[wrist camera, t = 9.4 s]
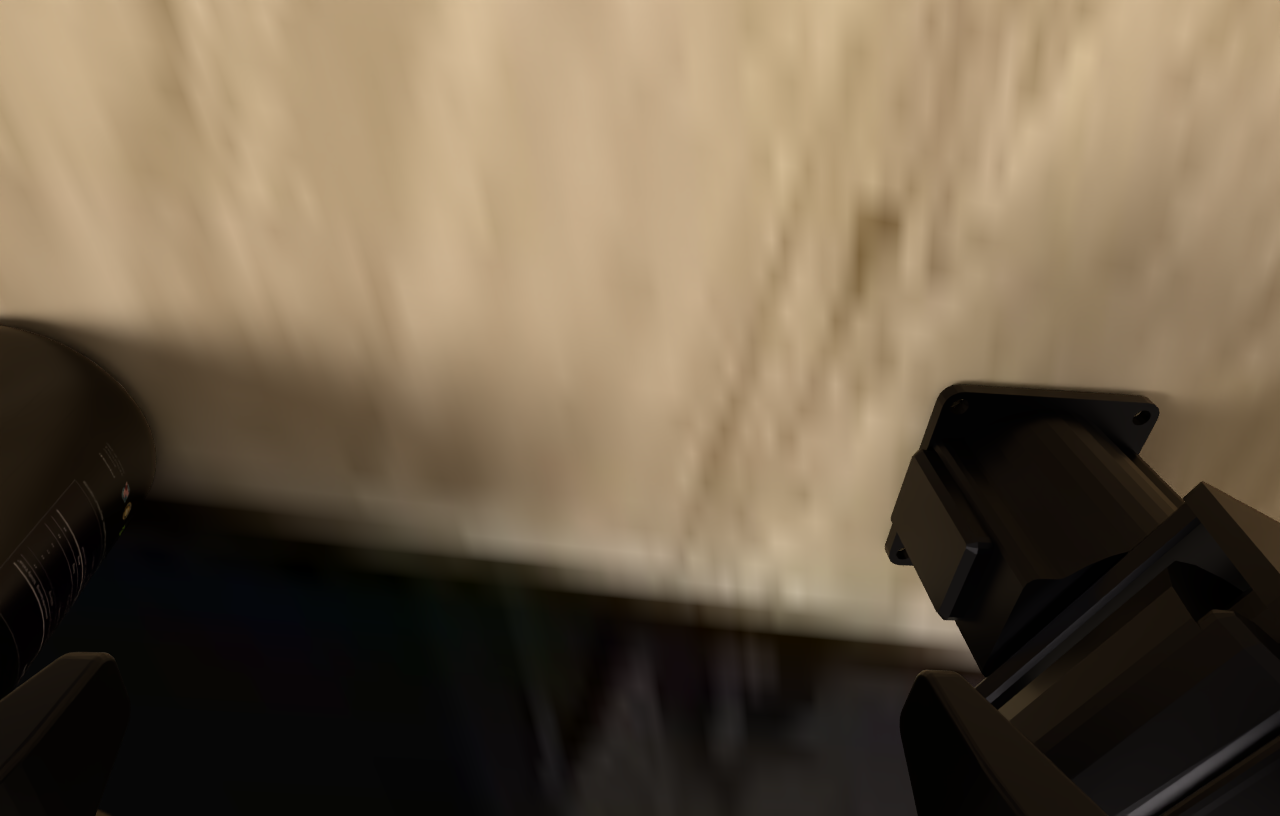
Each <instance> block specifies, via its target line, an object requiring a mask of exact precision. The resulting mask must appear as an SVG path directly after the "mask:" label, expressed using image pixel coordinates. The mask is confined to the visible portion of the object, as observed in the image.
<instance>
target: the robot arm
mask: <svg viewBox="0 0 1280 816" xmlns="http://www.w3.org/2000/svg"><path fill="white" fill-rule="evenodd" d="M961 399H963V400H962V402H961V403H960V404H959V405H957V406H956V407H951V406H952V404H953V403H954V402H955V401H957V400H961ZM1140 411H1141V412H1140ZM1138 412H1140V414H1139V415H1137V416H1135V415H1136V414H1137V413H1138ZM1134 416H1135V417H1134ZM1158 416H1159V408H1158V407H1157V406H1156V405H1155V404H1154V403H1153V402H1151V401H1150V400H1149V399H1148V398H1147V397H1144V396H1136V395H1120V394H1104V393H1088V392H1072V391H1056V390H1040V389H1024V388H1008V387H992V386H976V385H960V384H959V385H952V386H950V387H948V388H946V389H944V390H943V391H942V392H941V393H940V395H939V396H938V398H937V401H936V403H935V406H934V409H933V412H932V415H931V417H930V420H929V423H928V426H927V429H926V431H925V434H924V437H923V440H922V443H921V445H920V448H919V450H918V451H917V452H916V453H915V454H914V455H913V456H912V459H911V462H910V464H909V467H908V470H907V473H906V476H905V479H904V481H903V484H902V487H901V490H900V493H899V496H898V498H897V501H896V504H895V507H894V510H893V512H892V515H891V521H892V523H893V524H892V527H891V529H890V532H889V535H888V538H887V541H886V543H885V550H886V553H887V555H888V557H889V559H890V561H891V562H892V563H894V564H897V565H909V566H914V568H915V570H916V572H917V574H918V576H919V578H920V580H921V582H922V584H923V586H924V588H925V590H926V592H927V594H928V596H929V598H930V600H931V602H932V604H933V606H934V608H935V610H936V612H937V613H938V614H939V615H940V616H941V617H942V619H943V620H955V622H956V624H957V626H958V628H959V630H960V632H961V634H962V636H963V638H964V639H965V641H966V643H967V645H968V647H969V649H970V651H971V653H972V655H973V657H974V659H975V661H976V663H977V665H978V667H979V669H980V671H981V672H982V674H983V675H984V676H985V677H986V678H985V679H984V680H983V681H982V682H981V683H979V684H978V685H977V686H976V687H975V688H974V687H973V686H972V685H971V684H970V683H969V682H967V681H966V680H965V679H964V678H963V677H962V676H961V675H959V674H958V673H956V672H954V671H949V670H923V671H922V672H921V673H919V674H918V675H917V677H916V679H915V682H914V684H913V686H912V688H911V691H910V693H909V695H908V698H907V700H906V702H905V704H904V707H903V709H902V712H901V716H900V733H901V739H902V743H903V748H904V753H905V757H906V762H907V767H908V772H909V776H910V781H911V786H912V790H913V795H914V800H915V805H916V809H917V814H918V816H1280V523H1279V522H1277V521H1275V520H1274V519H1272V518H1270V517H1268V516H1266V515H1264V514H1263V513H1261V512H1259V511H1257V510H1255V509H1253V508H1252V507H1250V506H1248V505H1246V504H1244V503H1242V502H1241V501H1239V500H1237V499H1235V498H1233V497H1231V496H1230V495H1228V494H1226V493H1224V492H1222V491H1220V490H1218V489H1217V488H1215V487H1213V486H1211V485H1209V484H1207V483H1206V482H1203V481H1202V482H1200V483H1199V484H1198V485H1197V486H1196V487H1195V488H1194V489H1193V490H1191V491H1190V492H1189V493H1188V494H1187V495H1186V496H1185V497H1184V498H1183V499H1182V498H1181V497H1180V496H1179V495H1178V494H1177V493H1176V492H1175V491H1174V490H1173V489H1172V488H1171V487H1170V486H1169V485H1168V484H1167V483H1166V482H1165V481H1164V480H1163V479H1162V478H1161V477H1160V476H1159V475H1158V474H1157V473H1156V472H1155V471H1154V470H1153V469H1152V468H1151V467H1150V466H1149V465H1148V464H1147V463H1146V462H1145V461H1144V460H1143V459H1142V458H1141V457H1140V456H1139V453H1140V451H1141V449H1142V447H1143V445H1144V443H1145V442H1146V440H1147V438H1148V436H1149V434H1150V432H1151V430H1152V429H1153V427H1154V425H1155V423H1156V421H1157V419H1158ZM902 548H905V549H903V550H901V551H898V550H900V549H902ZM130 710H131V707H130V699H129V696H128V694H127V691H126V688H125V686H124V683H123V680H122V677H121V675H120V672H119V669H118V666H117V664H116V661H115V659H114V658H113V657H112V656H111V655H109V654H108V653H102V652H72V653H68V654H65V655H63V656H61V657H59V658H58V659H56V660H55V661H53V662H52V663H51V664H49V665H48V666H47V667H45V668H44V669H42V670H41V671H40V672H38V673H37V674H36V675H34V676H33V677H31V678H30V679H29V680H27V681H26V682H25V683H23V684H22V685H20V686H19V687H18V688H16V689H15V690H13V691H12V692H11V693H9V694H8V695H7V696H5V697H4V698H2V699H1V700H0V816H95V815H96V812H97V809H98V807H99V804H100V801H101V798H102V795H103V793H104V790H105V787H106V784H107V781H108V779H109V776H110V773H111V770H112V768H113V765H114V762H115V759H116V756H117V754H118V751H119V748H120V745H121V742H122V740H123V737H124V734H125V731H126V729H127V726H128V722H129V718H130Z"/></svg>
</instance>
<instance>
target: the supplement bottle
mask: <svg viewBox="0 0 1280 816" xmlns="http://www.w3.org/2000/svg"><path fill="white" fill-rule="evenodd" d="M155 470H156V450H155V445H154V440H153V436H152V433H151V430H150V427H149V425H148V423H147V421H146V419H145V417H144V415H143V413H142V412H141V410H140V408H139V407H138V405H137V404H136V402H135V401H134V400H133V398H132V397H131V396H130V395H129V393H128V392H127V391H126V390H125V389H124V388H123V387H122V386H121V385H120V384H119V383H118V382H117V380H115V379H114V378H113V377H112V376H111V375H110V374H109V373H107V372H106V371H105V370H104V369H102V368H101V367H100V366H98V365H97V364H96V363H94V362H93V361H91V360H90V359H88V358H87V357H85V356H84V355H82V354H80V353H79V352H77V351H75V350H73V349H71V348H69V347H67V346H65V345H63V344H61V343H59V342H57V341H54V340H52V339H49V338H47V337H44V336H42V335H38V334H35V333H32V332H29V331H25V330H21V329H17V328H13V327H8V326H2V325H0V700H1V699H2V698H4V697H5V696H7V695H8V694H9V693H11V692H12V691H13V690H14V688H15V687H16V685H17V684H18V682H19V681H20V680H21V678H22V677H23V675H24V674H25V672H26V671H27V669H28V668H29V667H30V665H31V664H32V662H33V661H34V659H35V658H36V656H37V655H38V654H39V652H40V651H41V649H42V648H43V646H44V645H45V644H46V642H47V641H48V639H49V638H50V636H51V635H52V633H53V632H54V631H55V629H56V628H57V626H58V625H59V623H60V622H61V621H62V619H63V618H64V616H65V615H66V613H67V612H68V610H69V609H70V608H71V606H72V605H73V603H74V602H75V600H76V599H77V597H78V596H79V595H80V593H81V592H82V590H83V589H84V587H85V586H86V585H87V583H88V582H89V580H90V579H91V577H92V576H93V574H94V573H95V572H96V570H97V569H98V567H99V566H100V564H101V563H102V561H103V560H104V559H105V557H106V556H107V554H108V553H109V551H110V550H111V549H112V547H113V546H114V544H115V543H116V541H117V540H118V538H119V537H120V536H121V534H122V533H123V531H124V530H125V528H126V527H127V525H128V524H129V523H130V521H131V519H132V518H133V516H134V515H135V513H136V512H137V510H138V509H139V507H140V506H141V504H142V503H143V501H144V499H145V497H146V496H147V494H148V492H149V490H150V488H151V485H152V483H153V479H154V475H155Z"/></svg>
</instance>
